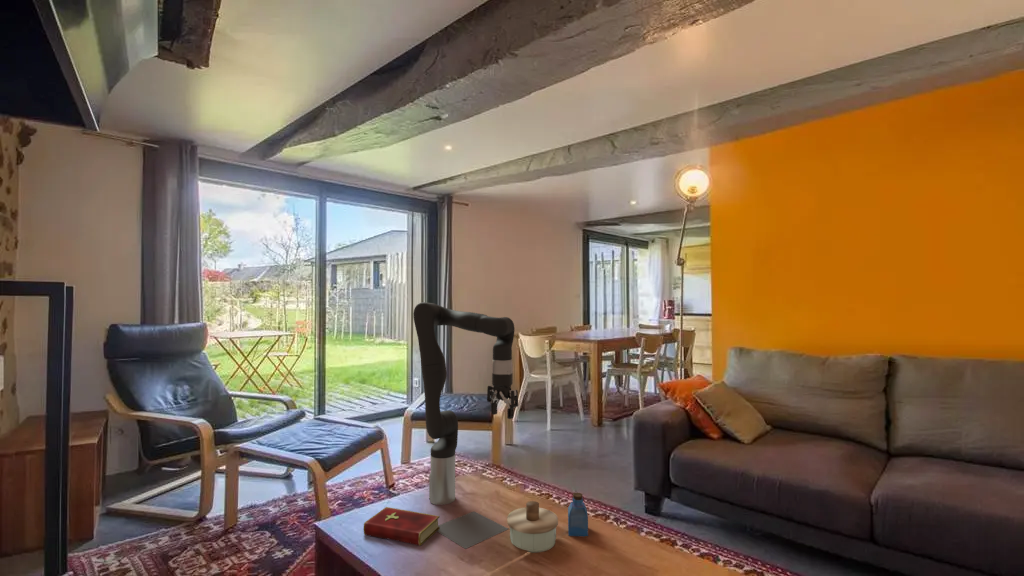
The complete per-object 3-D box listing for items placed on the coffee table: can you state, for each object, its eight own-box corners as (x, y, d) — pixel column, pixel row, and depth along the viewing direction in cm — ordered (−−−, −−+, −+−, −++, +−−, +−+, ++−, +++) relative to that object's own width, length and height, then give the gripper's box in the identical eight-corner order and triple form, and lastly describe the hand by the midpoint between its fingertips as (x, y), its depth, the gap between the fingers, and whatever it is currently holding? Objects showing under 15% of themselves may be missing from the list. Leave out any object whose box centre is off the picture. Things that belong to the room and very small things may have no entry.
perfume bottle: (586, 527, 159) (586, 491, 159) (588, 536, 153) (587, 498, 153) (568, 526, 159) (568, 490, 160) (568, 535, 153) (568, 498, 154)
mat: (431, 529, 157) (431, 528, 157) (473, 512, 170) (473, 511, 170) (465, 550, 144) (465, 548, 144) (508, 530, 157) (508, 528, 157)
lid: (496, 521, 150) (496, 503, 150) (531, 505, 161) (531, 489, 162) (533, 539, 139) (533, 520, 139) (568, 521, 150) (568, 504, 150)
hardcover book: (419, 546, 146) (419, 533, 146) (363, 535, 153) (363, 522, 153) (439, 528, 157) (439, 515, 157) (386, 518, 165) (386, 506, 165)
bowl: (501, 540, 150) (501, 521, 150) (532, 525, 160) (532, 507, 160) (533, 557, 140) (533, 537, 140) (564, 541, 150) (564, 521, 150)
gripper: (481, 370, 177) (481, 414, 177) (508, 375, 167) (508, 421, 167) (496, 368, 182) (496, 411, 182) (523, 373, 172) (523, 418, 172)
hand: (502, 416), depth 174 cm, fingers open, 8 cm apart
